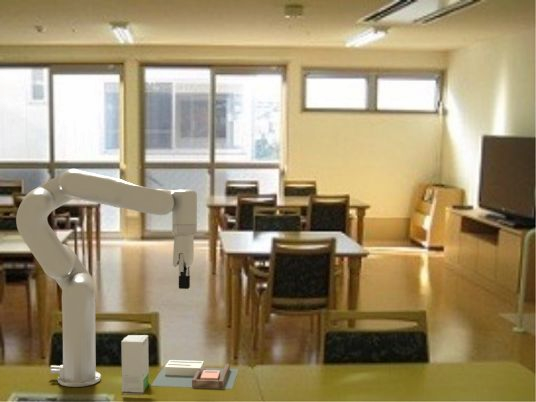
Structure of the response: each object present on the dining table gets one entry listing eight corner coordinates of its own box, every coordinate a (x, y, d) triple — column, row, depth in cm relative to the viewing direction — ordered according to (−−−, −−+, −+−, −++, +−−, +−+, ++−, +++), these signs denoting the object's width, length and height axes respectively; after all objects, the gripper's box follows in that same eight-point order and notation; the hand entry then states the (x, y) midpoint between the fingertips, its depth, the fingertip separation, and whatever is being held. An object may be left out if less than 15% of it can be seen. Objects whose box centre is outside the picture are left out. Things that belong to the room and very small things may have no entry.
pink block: (200, 385, 204) (200, 377, 204) (203, 377, 211) (203, 369, 211) (217, 386, 204) (217, 377, 204) (220, 378, 211) (220, 370, 211)
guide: (192, 386, 204) (192, 380, 203) (201, 368, 220) (201, 362, 220) (222, 387, 203) (222, 381, 203) (229, 369, 219) (229, 363, 219)
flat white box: (164, 374, 214) (164, 366, 214) (169, 367, 221) (169, 359, 221) (200, 376, 213) (200, 367, 213) (203, 368, 220) (203, 360, 220)
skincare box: (142, 396, 198) (142, 342, 197) (120, 395, 199) (119, 341, 198) (149, 385, 207) (149, 334, 206) (127, 385, 207) (127, 333, 206)
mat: (150, 389, 204) (150, 385, 204) (163, 369, 222) (163, 366, 222) (232, 392, 202) (232, 388, 202) (238, 372, 220) (238, 368, 220)
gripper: (177, 226, 223) (177, 283, 224) (167, 232, 208) (167, 293, 209) (200, 227, 222) (200, 283, 224) (192, 232, 207) (191, 293, 209)
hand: (184, 288), depth 216 cm, fingers closed
